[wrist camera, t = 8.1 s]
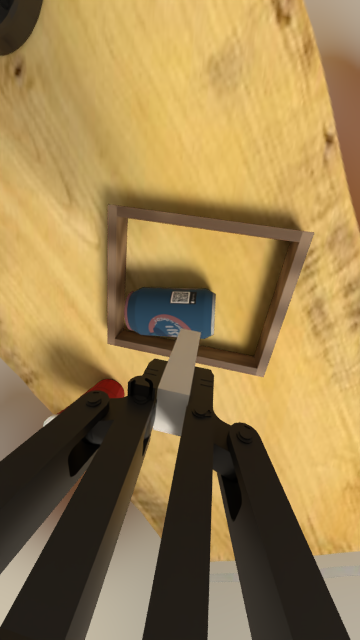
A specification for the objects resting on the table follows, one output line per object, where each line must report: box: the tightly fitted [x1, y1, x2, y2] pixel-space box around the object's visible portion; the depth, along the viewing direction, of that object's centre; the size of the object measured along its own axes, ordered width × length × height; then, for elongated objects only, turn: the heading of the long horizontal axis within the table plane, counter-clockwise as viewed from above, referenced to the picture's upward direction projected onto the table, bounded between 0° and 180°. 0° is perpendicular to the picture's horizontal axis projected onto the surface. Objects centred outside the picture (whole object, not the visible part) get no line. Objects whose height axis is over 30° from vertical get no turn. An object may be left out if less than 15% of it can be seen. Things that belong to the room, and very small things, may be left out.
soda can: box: [124, 287, 216, 339], centre depth 31 cm, size 7×7×12 cm
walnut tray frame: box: [108, 204, 314, 377], centre depth 31 cm, size 20×25×4 cm
